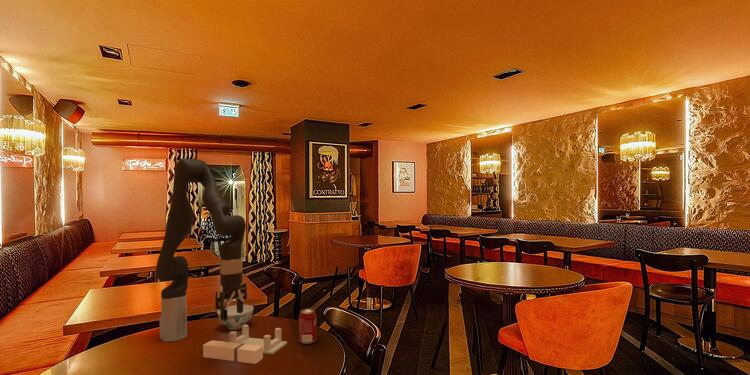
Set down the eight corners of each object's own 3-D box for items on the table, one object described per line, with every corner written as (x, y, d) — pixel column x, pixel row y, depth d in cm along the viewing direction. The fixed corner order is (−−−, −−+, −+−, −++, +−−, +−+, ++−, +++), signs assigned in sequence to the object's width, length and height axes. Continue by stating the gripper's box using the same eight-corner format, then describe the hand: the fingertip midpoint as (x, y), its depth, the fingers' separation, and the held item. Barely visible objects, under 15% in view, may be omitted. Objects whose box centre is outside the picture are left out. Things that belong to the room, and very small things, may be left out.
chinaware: (212, 327, 167) (212, 309, 167) (245, 319, 177) (245, 302, 177) (225, 336, 156) (225, 317, 156) (259, 327, 166) (259, 309, 166)
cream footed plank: (224, 348, 143) (224, 332, 143) (241, 338, 153) (241, 323, 153) (272, 354, 137) (272, 337, 137) (287, 343, 146) (286, 328, 146)
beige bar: (203, 357, 136) (202, 344, 136) (212, 352, 140) (211, 339, 140) (255, 364, 129) (255, 350, 130) (263, 358, 134) (262, 345, 134)
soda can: (313, 345, 144) (312, 314, 144) (296, 344, 145) (295, 313, 146) (319, 338, 151) (318, 308, 151) (303, 337, 152) (302, 308, 152)
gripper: (235, 267, 143) (236, 309, 143) (208, 275, 130) (209, 322, 129) (252, 267, 141) (253, 311, 141) (226, 275, 128) (227, 324, 127)
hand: (232, 316), depth 135 cm, fingers open, 8 cm apart
